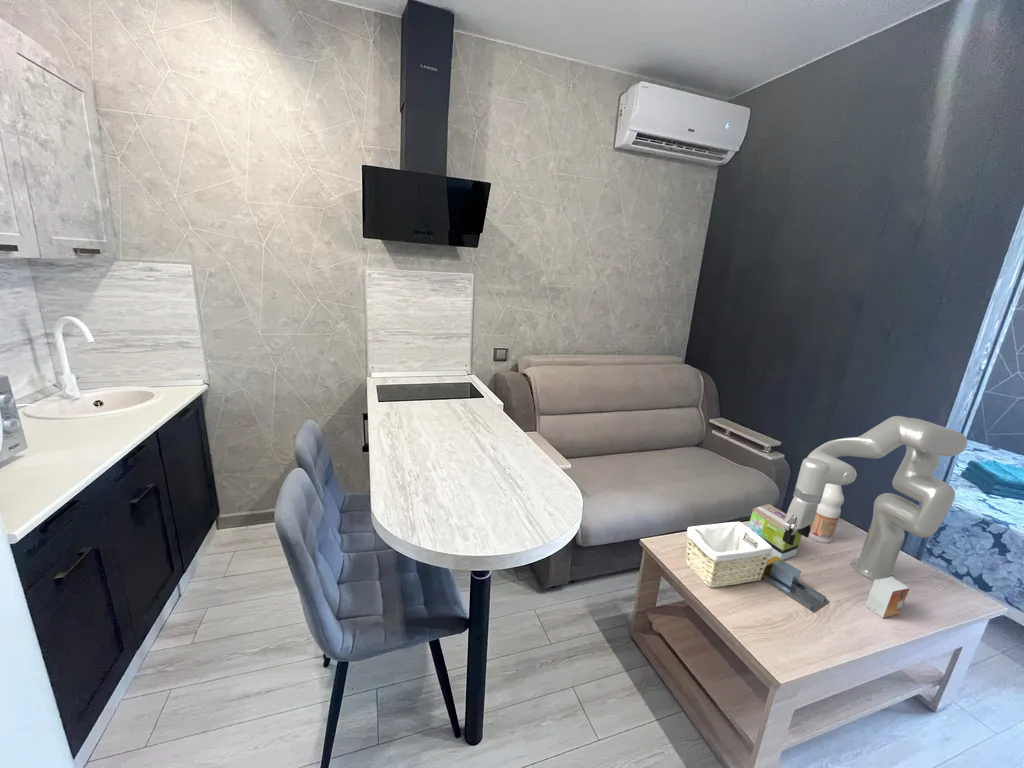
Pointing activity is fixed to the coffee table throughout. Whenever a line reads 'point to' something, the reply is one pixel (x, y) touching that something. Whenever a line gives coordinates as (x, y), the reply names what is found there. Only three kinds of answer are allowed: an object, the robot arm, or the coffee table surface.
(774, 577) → the block
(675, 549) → the coffee table surface
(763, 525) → the tea box
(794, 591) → the dock
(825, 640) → the coffee table surface
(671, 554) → the coffee table surface
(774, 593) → the coffee table surface
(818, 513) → the fruit juice
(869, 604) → the small box
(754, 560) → the storage basket
